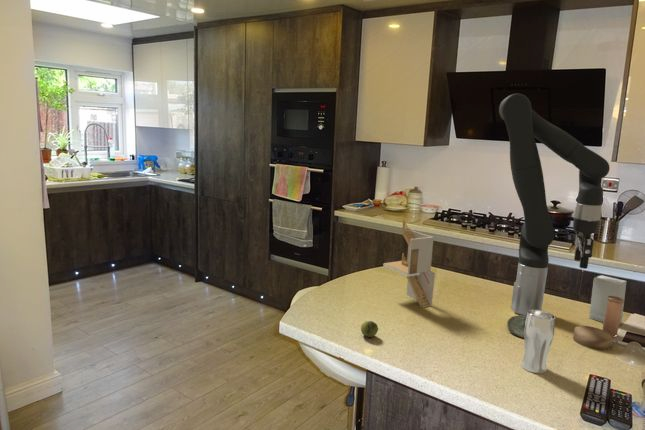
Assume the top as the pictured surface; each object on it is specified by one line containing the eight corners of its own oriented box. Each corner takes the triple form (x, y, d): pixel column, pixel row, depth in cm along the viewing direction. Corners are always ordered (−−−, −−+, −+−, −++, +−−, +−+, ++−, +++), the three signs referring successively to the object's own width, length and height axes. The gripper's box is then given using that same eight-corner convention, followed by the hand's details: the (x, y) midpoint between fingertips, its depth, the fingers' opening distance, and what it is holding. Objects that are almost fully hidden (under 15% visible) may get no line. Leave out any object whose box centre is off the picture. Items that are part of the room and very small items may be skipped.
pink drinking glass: (604, 336, 143) (611, 299, 141) (599, 330, 147) (605, 295, 145) (619, 338, 142) (626, 301, 140) (613, 332, 146) (620, 296, 144)
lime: (358, 335, 135) (359, 319, 134) (371, 332, 137) (372, 316, 136) (367, 341, 131) (368, 325, 130) (380, 338, 134) (381, 322, 133)
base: (579, 347, 134) (581, 337, 134) (568, 333, 144) (569, 324, 143) (617, 351, 133) (618, 342, 132) (602, 337, 142) (604, 328, 142)
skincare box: (621, 323, 154) (629, 281, 151) (612, 327, 151) (620, 283, 148) (595, 314, 161) (602, 274, 158) (586, 317, 158) (593, 276, 155)
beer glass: (514, 361, 124) (521, 308, 121) (538, 361, 125) (546, 309, 122) (527, 374, 117) (535, 319, 114) (553, 374, 118) (562, 320, 115)
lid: (544, 331, 144) (546, 316, 143) (541, 343, 136) (544, 327, 135) (508, 323, 149) (510, 309, 148) (504, 334, 141) (506, 319, 140)
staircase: (410, 311, 156) (417, 228, 151) (380, 296, 170) (386, 219, 164) (431, 307, 161) (439, 227, 156) (401, 292, 175) (408, 218, 169)
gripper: (570, 212, 158) (564, 257, 162) (579, 220, 145) (572, 269, 148) (594, 214, 156) (588, 259, 159) (605, 222, 143) (598, 272, 146)
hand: (580, 264), depth 154 cm, fingers open, 8 cm apart
